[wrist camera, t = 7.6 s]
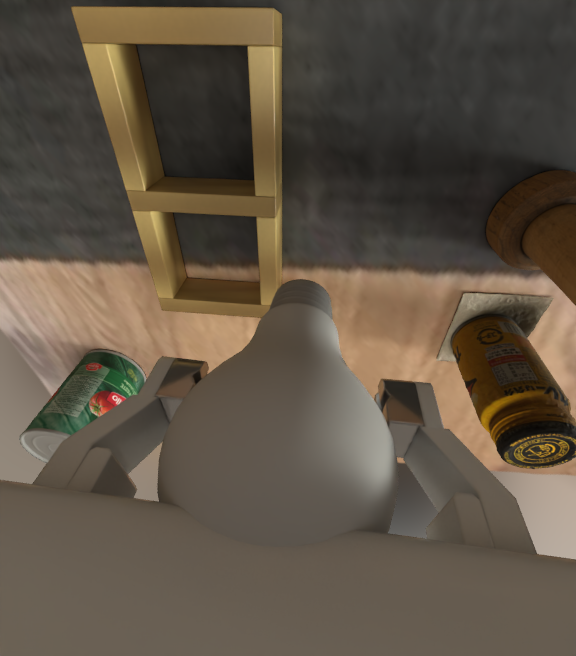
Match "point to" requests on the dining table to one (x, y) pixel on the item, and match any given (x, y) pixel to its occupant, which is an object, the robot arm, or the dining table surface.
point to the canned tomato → (82, 400)
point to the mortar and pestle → (539, 227)
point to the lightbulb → (282, 436)
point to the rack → (181, 192)
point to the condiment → (511, 379)
